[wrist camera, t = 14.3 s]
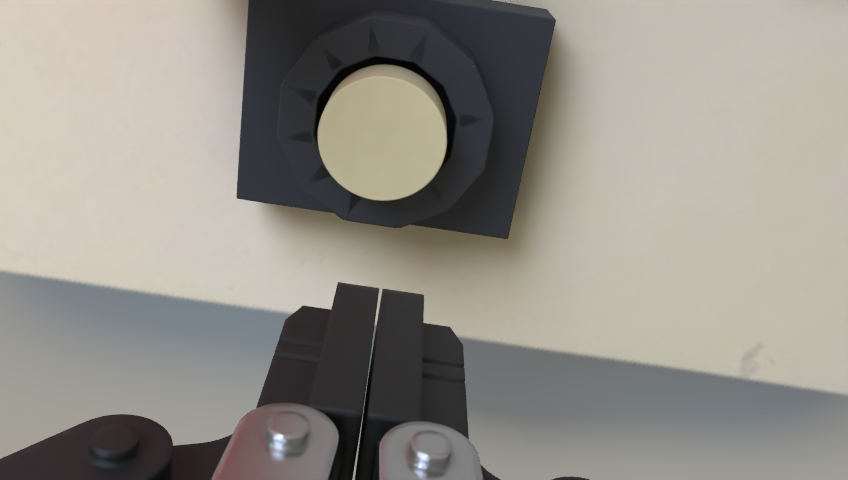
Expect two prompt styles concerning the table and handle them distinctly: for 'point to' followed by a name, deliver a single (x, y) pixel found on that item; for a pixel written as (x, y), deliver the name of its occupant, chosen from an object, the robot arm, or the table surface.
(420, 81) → the button
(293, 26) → the block
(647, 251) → the table surface
